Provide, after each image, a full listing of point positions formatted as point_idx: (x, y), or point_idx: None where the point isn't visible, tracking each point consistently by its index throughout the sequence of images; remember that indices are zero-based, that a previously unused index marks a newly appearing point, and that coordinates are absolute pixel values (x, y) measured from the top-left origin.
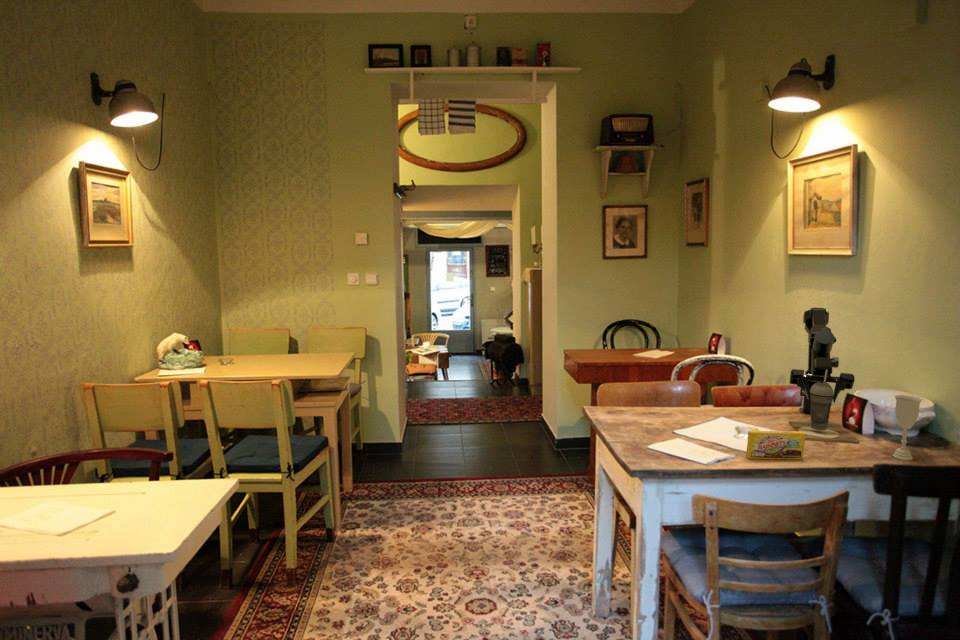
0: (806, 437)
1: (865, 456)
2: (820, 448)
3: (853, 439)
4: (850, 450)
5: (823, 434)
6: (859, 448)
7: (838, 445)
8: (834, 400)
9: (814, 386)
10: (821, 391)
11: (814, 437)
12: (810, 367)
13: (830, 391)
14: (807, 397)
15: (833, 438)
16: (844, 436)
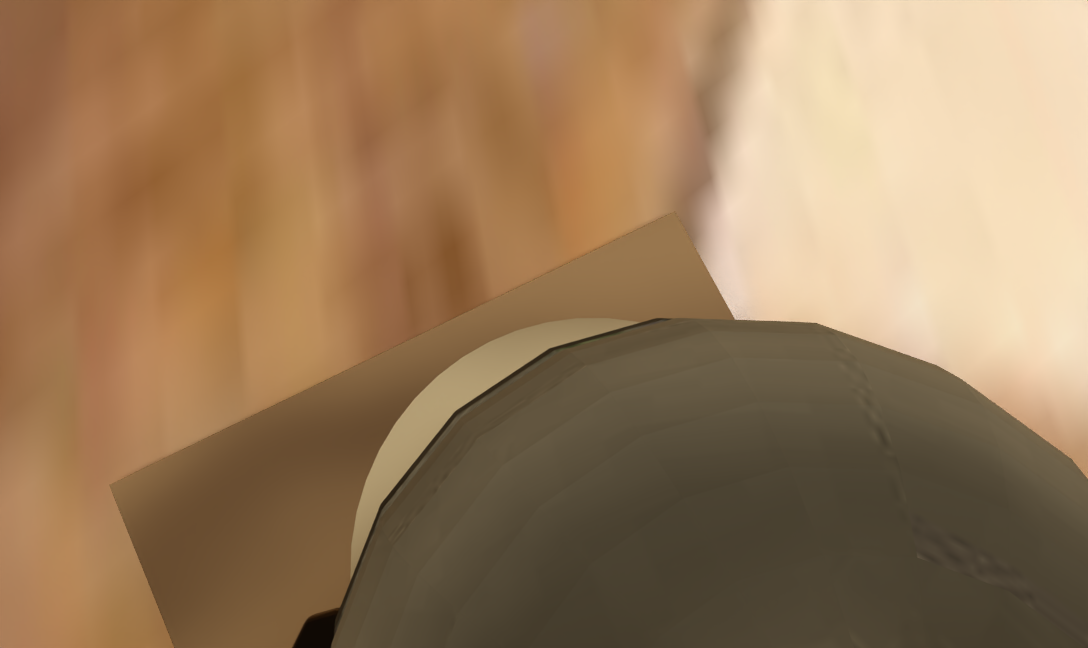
0: (664, 220)
1: (50, 28)
2: (470, 17)
3: (180, 510)
4: (197, 141)
5: None
6: (116, 280)
7: (327, 248)
8: (326, 619)
9: (1081, 481)
10: (688, 323)
11: (589, 282)
12: None
13: (394, 521)
14: None
15: (395, 389)
16: (291, 585)
